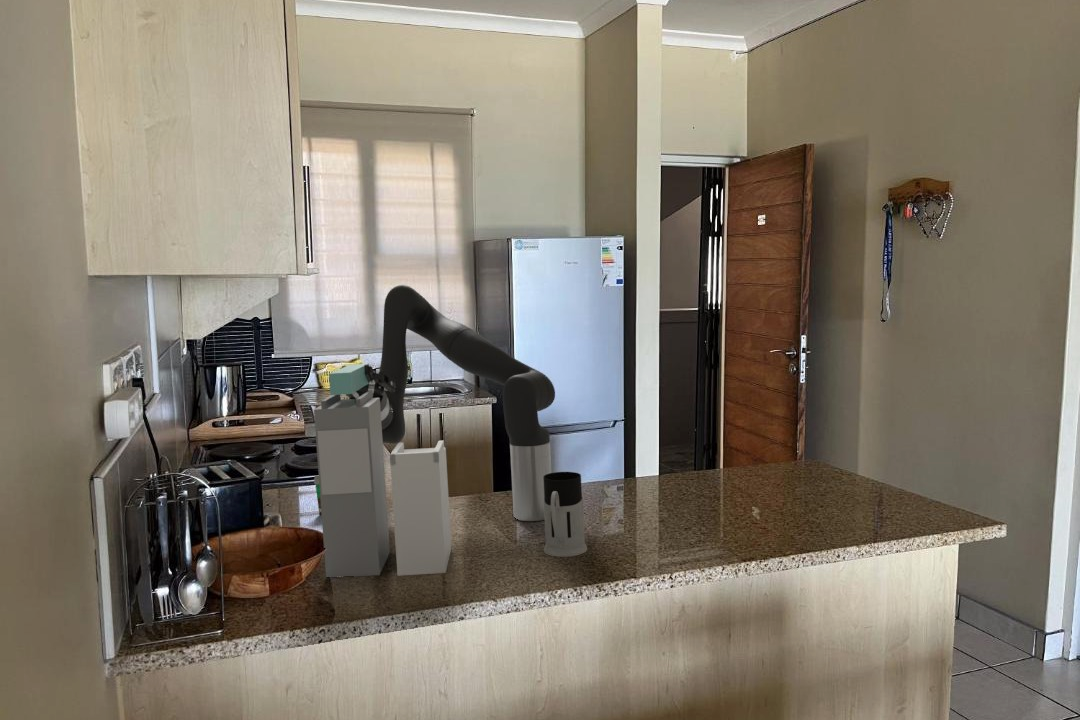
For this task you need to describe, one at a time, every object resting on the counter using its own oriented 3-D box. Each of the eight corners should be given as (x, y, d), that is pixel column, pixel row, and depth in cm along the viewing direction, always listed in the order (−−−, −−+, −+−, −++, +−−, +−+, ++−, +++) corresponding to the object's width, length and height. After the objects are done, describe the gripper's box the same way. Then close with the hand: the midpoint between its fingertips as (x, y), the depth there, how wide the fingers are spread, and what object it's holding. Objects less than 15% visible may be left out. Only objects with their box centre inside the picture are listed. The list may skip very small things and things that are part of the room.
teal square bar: (370, 382, 170) (368, 363, 170) (352, 393, 150) (350, 372, 150) (351, 383, 170) (349, 364, 170) (330, 395, 150) (328, 373, 150)
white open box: (451, 547, 167) (445, 437, 165) (445, 572, 152) (438, 451, 150) (407, 550, 166) (400, 440, 164) (397, 575, 151) (389, 454, 149)
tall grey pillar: (389, 552, 165) (379, 390, 162) (379, 575, 152) (367, 398, 149) (340, 555, 165) (329, 392, 162) (325, 578, 152) (313, 401, 149)
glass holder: (590, 543, 165) (587, 471, 164) (578, 566, 151) (574, 488, 150) (548, 542, 167) (545, 470, 166) (532, 565, 153) (528, 487, 152)
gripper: (338, 388, 181) (320, 354, 166) (402, 384, 182) (390, 350, 166) (337, 419, 178) (318, 388, 162) (402, 415, 178) (389, 383, 163)
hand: (354, 369), depth 164 cm, fingers closed on teal square bar, 4 cm apart
